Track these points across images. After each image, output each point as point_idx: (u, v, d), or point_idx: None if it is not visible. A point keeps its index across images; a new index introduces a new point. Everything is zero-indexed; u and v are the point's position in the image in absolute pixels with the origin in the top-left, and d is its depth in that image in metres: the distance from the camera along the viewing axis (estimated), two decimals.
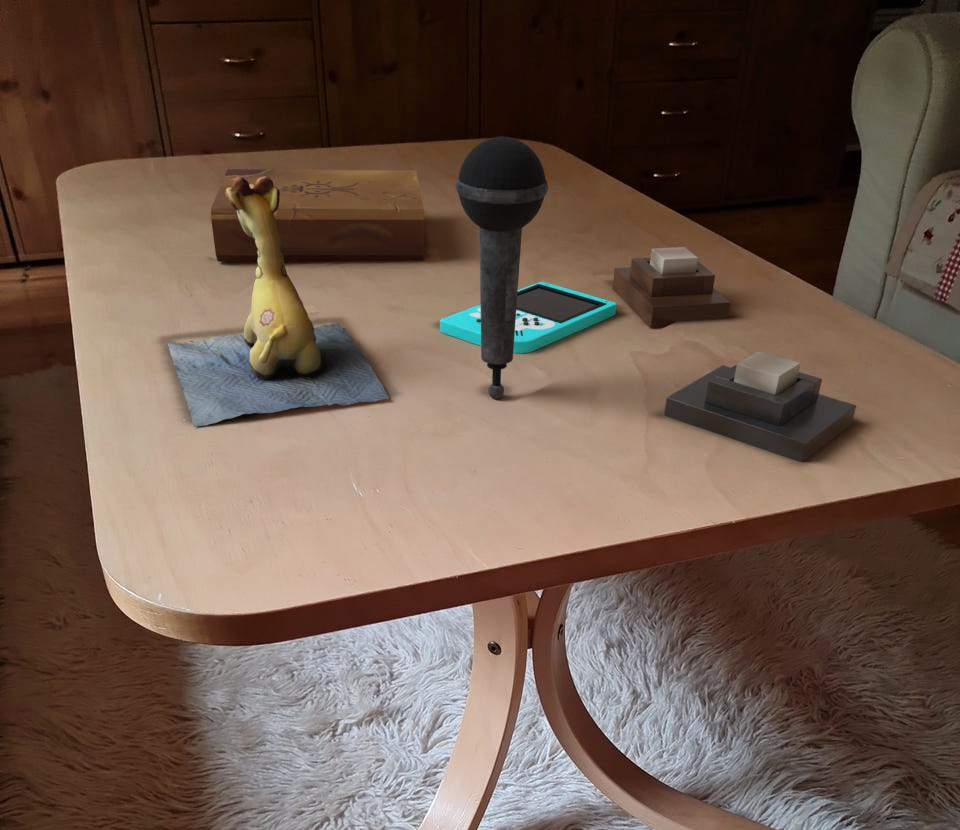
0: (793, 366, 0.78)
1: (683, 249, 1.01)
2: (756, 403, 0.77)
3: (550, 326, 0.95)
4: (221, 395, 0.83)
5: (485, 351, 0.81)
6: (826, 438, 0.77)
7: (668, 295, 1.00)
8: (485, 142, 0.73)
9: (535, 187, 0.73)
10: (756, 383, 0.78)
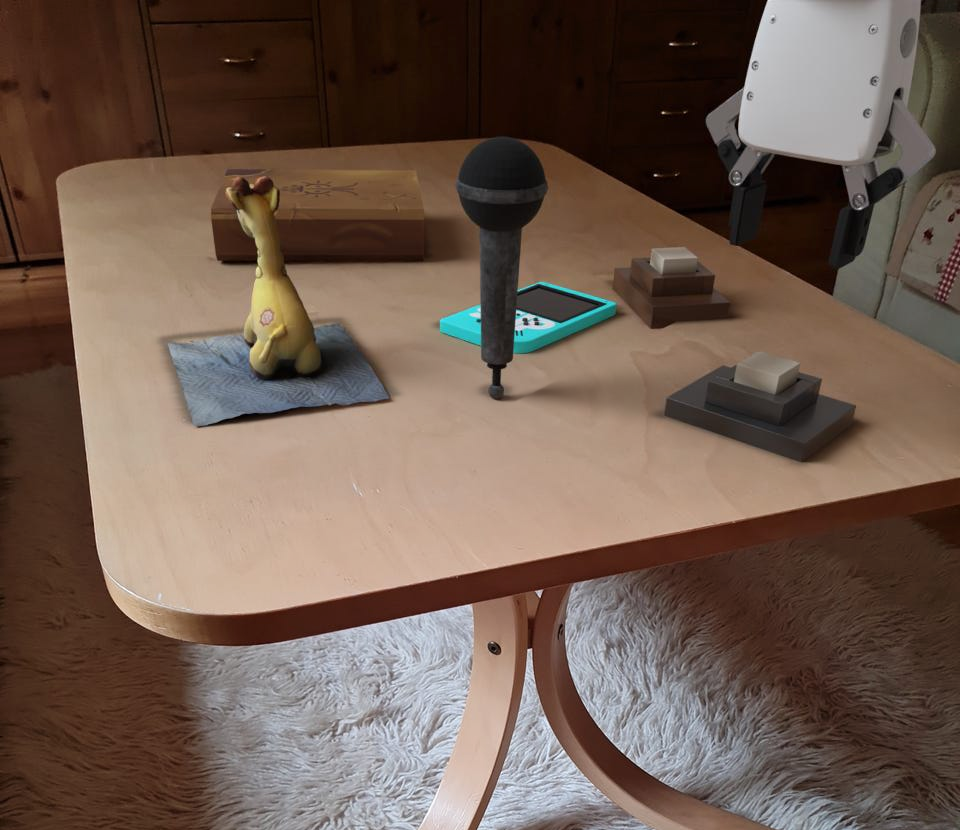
0: (793, 366, 0.78)
1: (683, 249, 1.01)
2: (756, 403, 0.77)
3: (550, 326, 0.95)
4: (221, 395, 0.83)
5: (485, 351, 0.81)
6: (826, 438, 0.77)
7: (668, 295, 1.00)
8: (485, 142, 0.73)
9: (535, 187, 0.73)
10: (756, 383, 0.78)
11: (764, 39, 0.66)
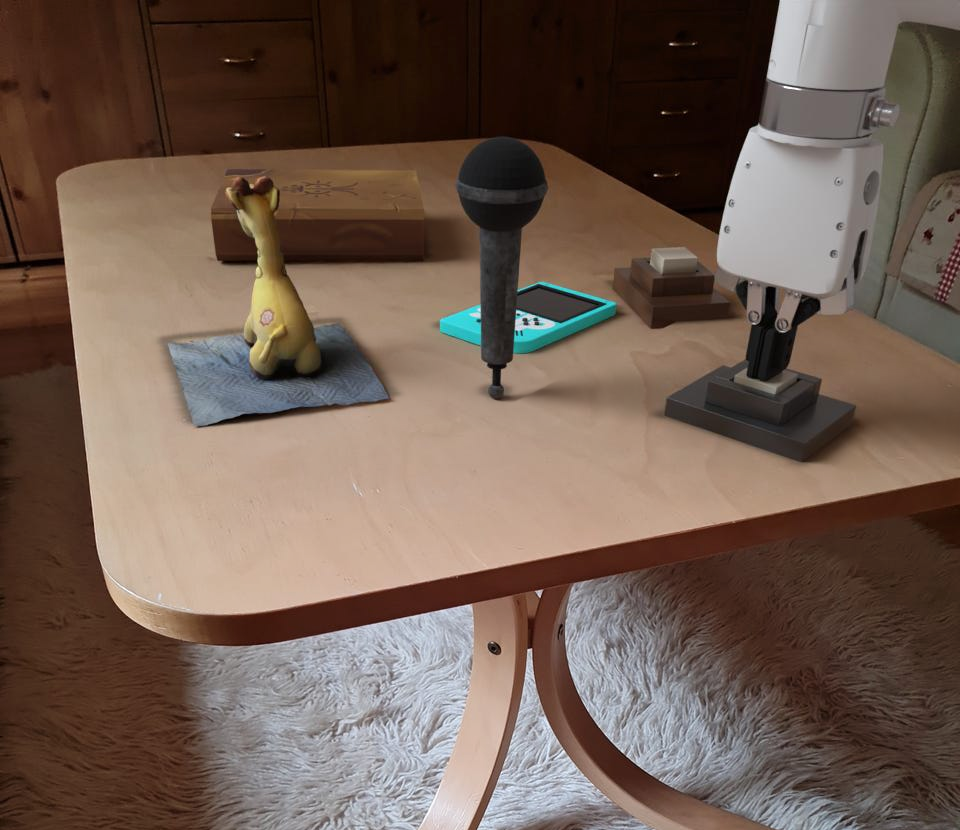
0: (791, 377, 0.78)
1: (683, 249, 1.01)
2: (756, 403, 0.77)
3: (550, 326, 0.95)
4: (221, 395, 0.83)
5: (485, 351, 0.81)
6: (826, 438, 0.77)
7: (668, 295, 1.00)
8: (485, 142, 0.73)
9: (535, 187, 0.73)
10: None
11: (740, 181, 0.71)
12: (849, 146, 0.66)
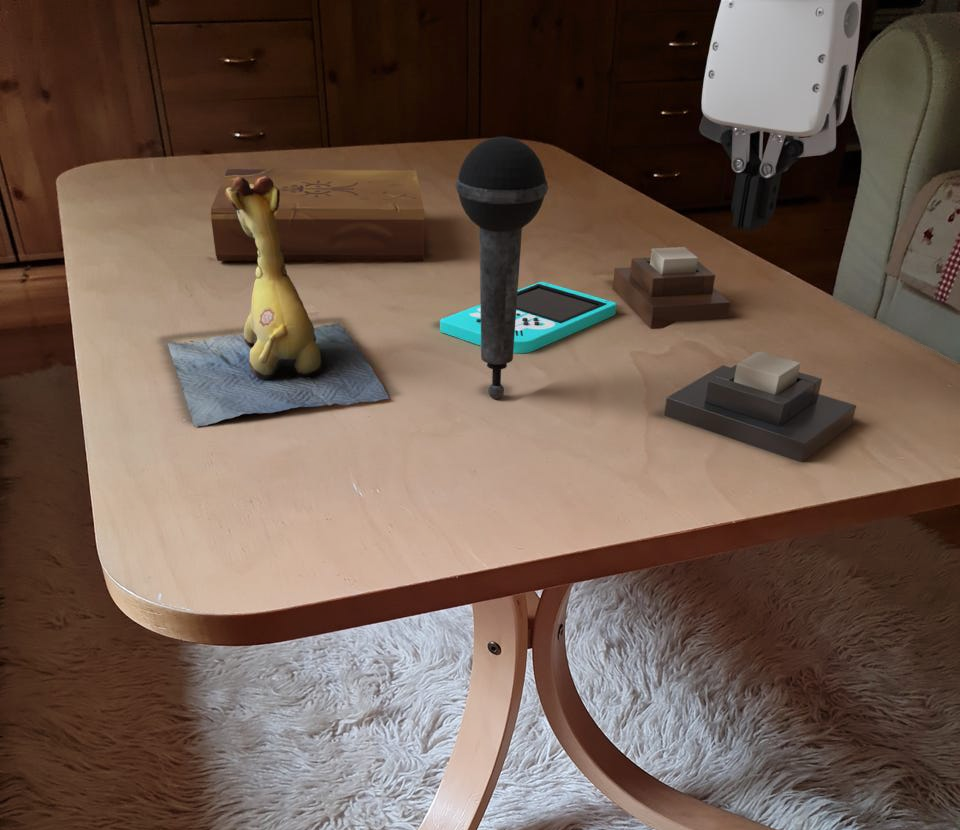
0: (793, 366, 0.78)
1: (683, 249, 1.01)
2: (756, 403, 0.77)
3: (550, 326, 0.95)
4: (221, 395, 0.83)
5: (485, 351, 0.81)
6: (826, 438, 0.77)
7: (668, 295, 1.00)
8: (485, 142, 0.73)
9: (535, 187, 0.73)
10: (756, 383, 0.78)
11: (723, 22, 0.72)
12: None
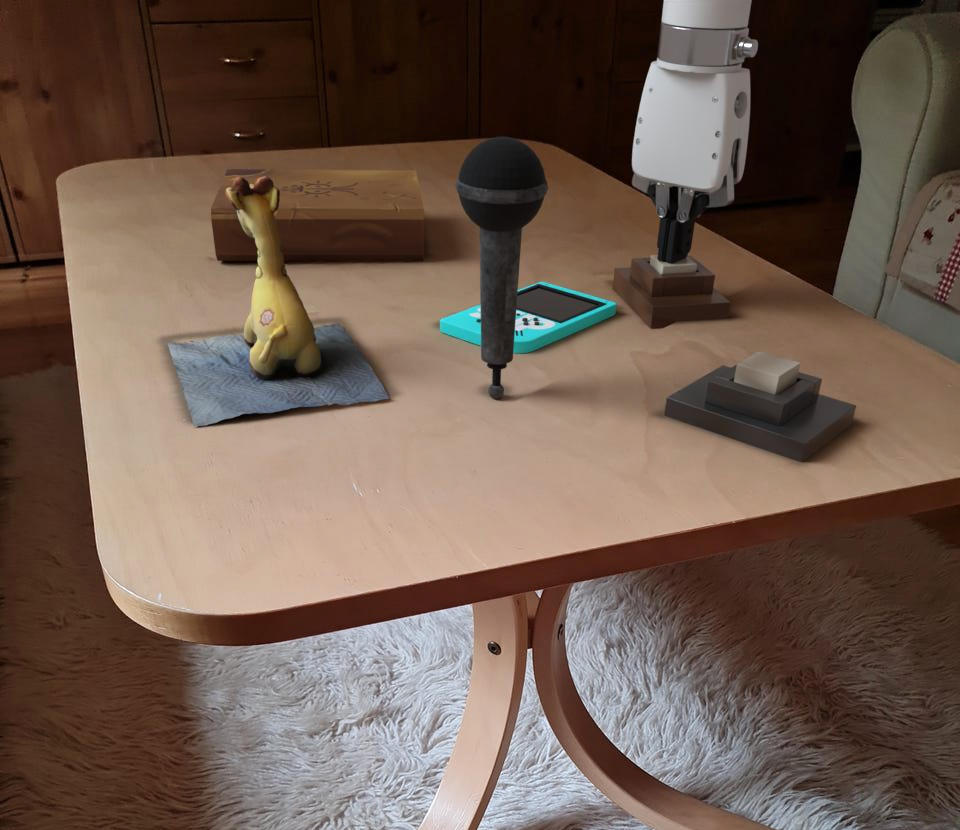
0: (793, 366, 0.78)
1: None
2: (756, 403, 0.77)
3: (550, 326, 0.95)
4: (221, 395, 0.83)
5: (485, 351, 0.81)
6: (826, 438, 0.77)
7: (668, 295, 1.00)
8: (485, 142, 0.73)
9: (535, 187, 0.73)
10: (756, 383, 0.78)
11: (645, 102, 0.93)
12: (721, 72, 0.88)
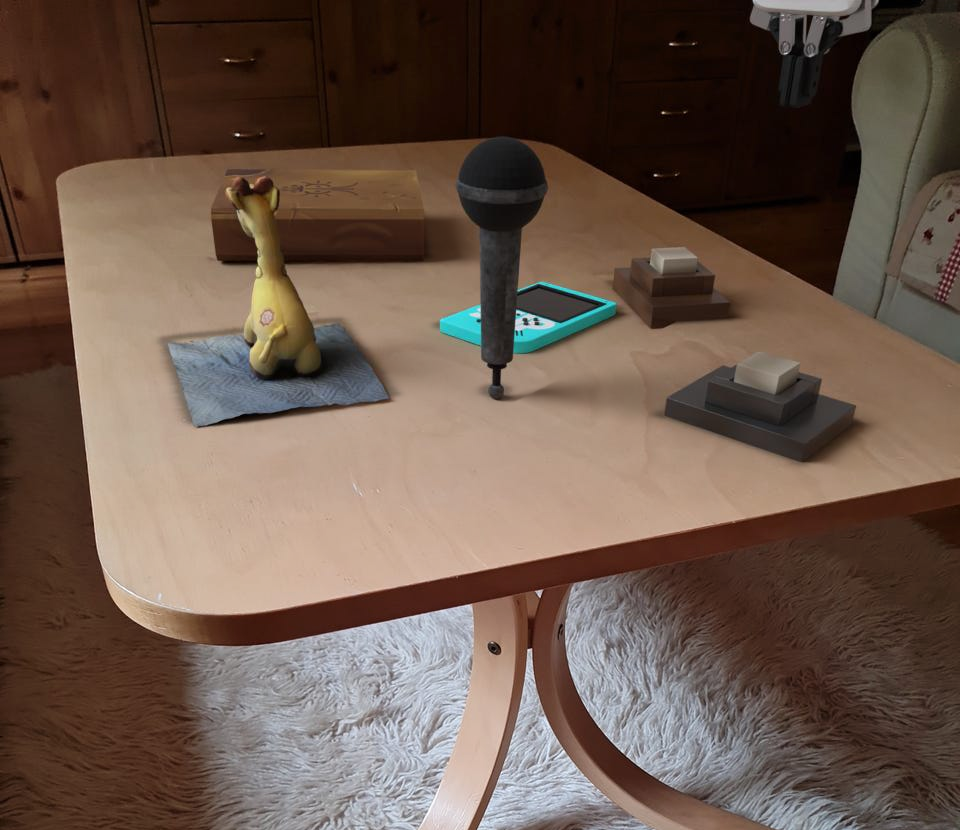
0: (793, 366, 0.78)
1: (683, 249, 1.01)
2: (756, 403, 0.77)
3: (550, 326, 0.95)
4: (221, 395, 0.83)
5: (485, 351, 0.81)
6: (826, 438, 0.77)
7: (668, 295, 1.00)
8: (485, 142, 0.73)
9: (535, 187, 0.73)
10: (756, 383, 0.78)
11: None
12: None
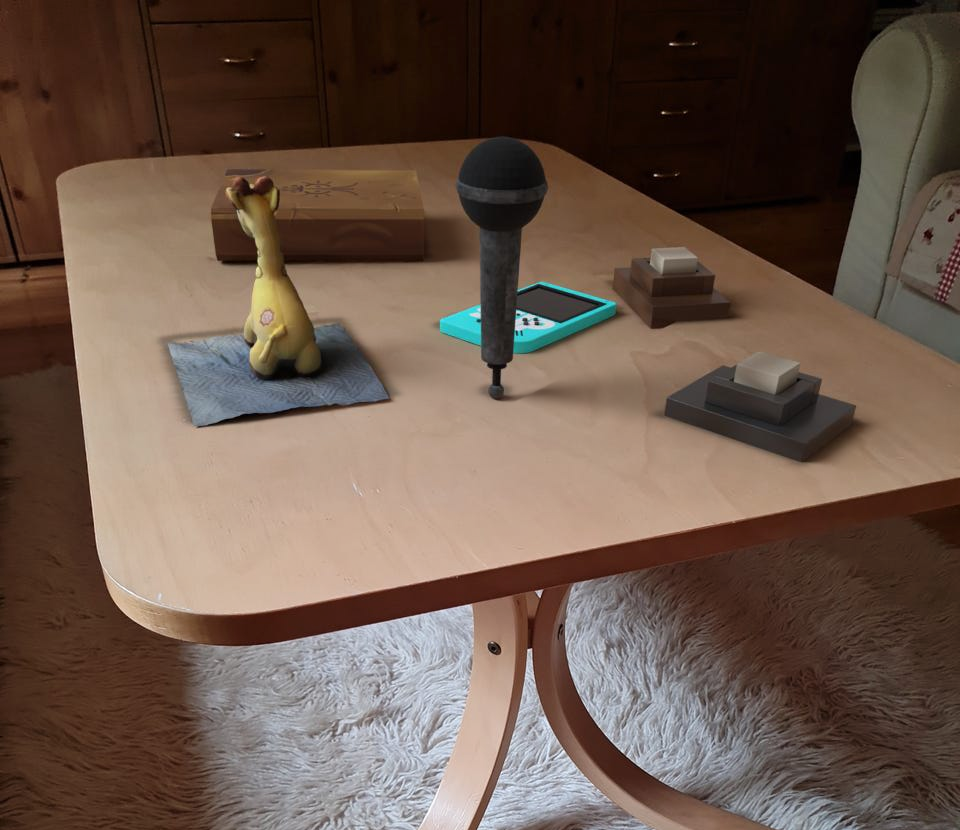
0: (793, 366, 0.78)
1: (683, 249, 1.01)
2: (756, 403, 0.77)
3: (550, 326, 0.95)
4: (221, 395, 0.83)
5: (485, 351, 0.81)
6: (826, 438, 0.77)
7: (668, 295, 1.00)
8: (485, 142, 0.73)
9: (535, 187, 0.73)
10: (756, 383, 0.78)
11: None
12: None
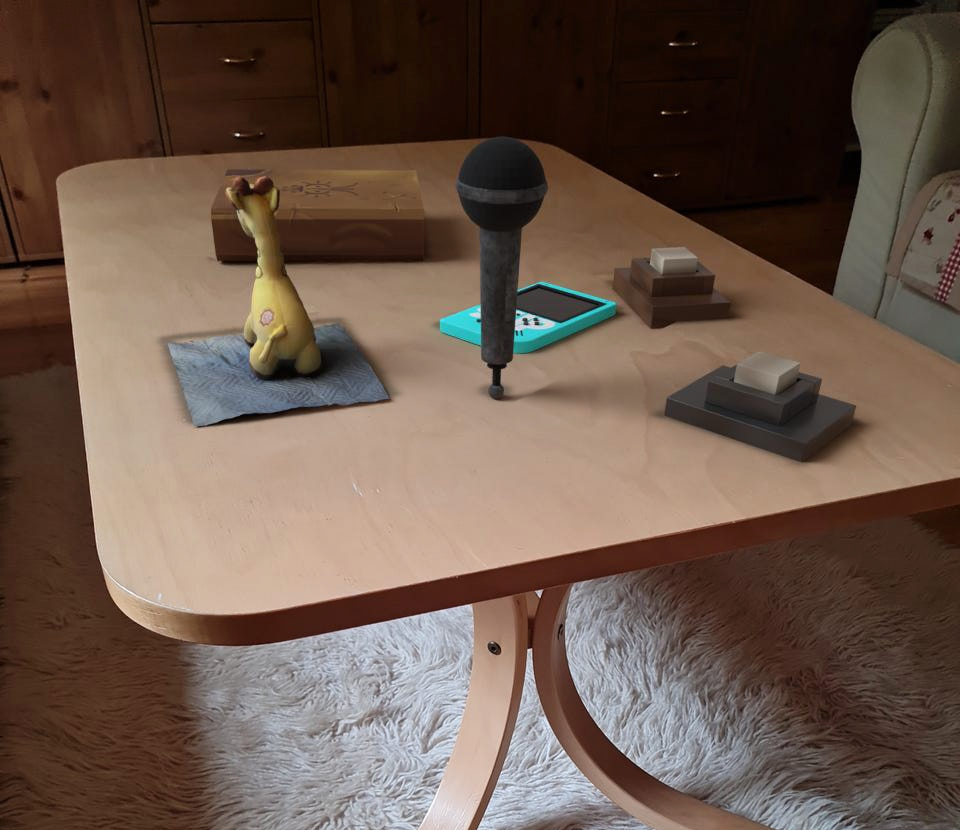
0: (793, 366, 0.78)
1: (683, 249, 1.01)
2: (756, 403, 0.77)
3: (550, 326, 0.95)
4: (221, 395, 0.83)
5: (485, 351, 0.81)
6: (826, 438, 0.77)
7: (668, 295, 1.00)
8: (485, 142, 0.73)
9: (535, 187, 0.73)
10: (756, 383, 0.78)
11: None
12: None
